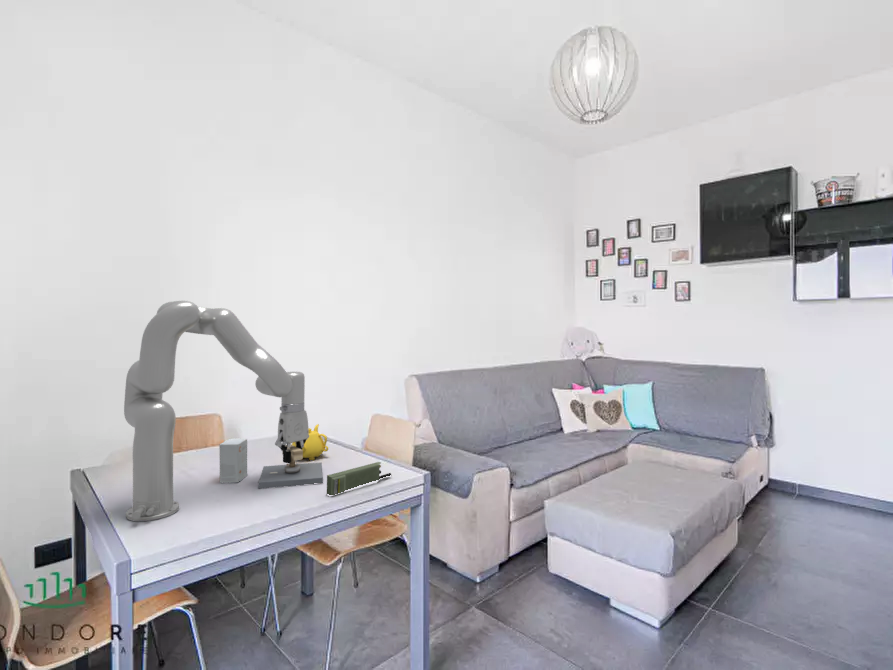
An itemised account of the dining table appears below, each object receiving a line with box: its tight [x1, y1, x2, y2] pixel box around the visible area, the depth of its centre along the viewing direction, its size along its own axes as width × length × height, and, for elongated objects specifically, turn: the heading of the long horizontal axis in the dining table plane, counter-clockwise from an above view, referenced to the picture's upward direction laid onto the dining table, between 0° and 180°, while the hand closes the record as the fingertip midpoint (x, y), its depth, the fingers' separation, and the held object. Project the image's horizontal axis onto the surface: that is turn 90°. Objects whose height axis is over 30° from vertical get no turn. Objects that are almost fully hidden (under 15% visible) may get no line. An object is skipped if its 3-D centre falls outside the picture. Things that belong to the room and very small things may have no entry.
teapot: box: [291, 423, 329, 461], centre depth 186 cm, size 20×15×12 cm
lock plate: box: [257, 462, 324, 489], centre depth 162 cm, size 18×20×2 cm
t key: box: [281, 444, 303, 473], centre depth 162 cm, size 10×5×8 cm, turn 41°
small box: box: [219, 438, 248, 484], centre depth 159 cm, size 8×6×13 cm
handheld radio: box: [326, 461, 392, 496], centre depth 154 cm, size 7×3×25 cm
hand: (292, 460), depth 161 cm, fingers closed on t key, 4 cm apart
